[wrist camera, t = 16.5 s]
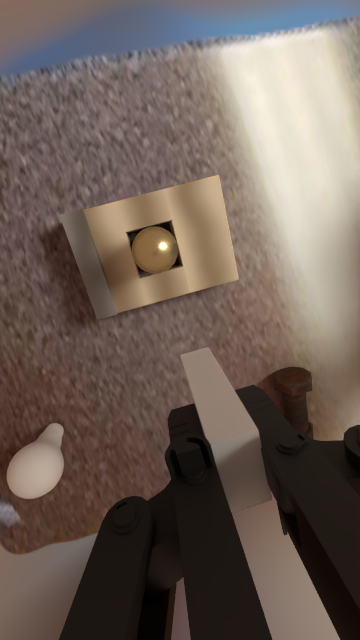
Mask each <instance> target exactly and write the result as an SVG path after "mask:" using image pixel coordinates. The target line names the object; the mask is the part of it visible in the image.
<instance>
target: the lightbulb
mask: <svg viewBox="0 0 360 640" xmlns="http://www.w3.org/2000/svg"><path fill="white" fill-rule="evenodd" d="M63 432H64V429H63V427H62V426H61V425H60V424H57V423H52V424H49V425H48V426H47V427H46V429H45V430H44V432H43V433H42V434H40V436H39V437H38V439H37V440H36V441H35V442H32V443H30V444H28V445H26V446H25V447H23V448H22V449H20V450H19V451H18V452H17V453H16V454H15V455H14V457H13V458H12V460H11V462H10V464H9V467H8V470H7V482H8V485H9V488H10V489H11V491H12V492H13V493H14V494H15V495H17V496H18V497H21V498H25V499H34V498H38V497H40V496H43V495H44V494H46V493H48V492H49V491H50V490H52V489H53V488H54V487H55V485H56V484H57V483H58V481H59V480H60V478H61V475H62V473H63V468H64V460H63V456H62V453H61V450H60V446H61V443H62V436H63Z"/></svg>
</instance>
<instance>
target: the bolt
mask: <svg viewBox="0 0 360 640" xmlns="http://www.w3.org/2000/svg"><path fill="white" fill-rule="evenodd" d="M274 387H275V389H276V390H278V391H281V392H282V394H283V397H284V406H285V415H286V420H287V421H288V422H289V423H290V425H291V426H292V427H293V428H294V429H295V430H298V431H301V432H303V433H305V434H306V435H307V436H309V437H310V438H311V439H312V440H313V425H312V424H311V423H310V422H308V414H307V404H306V392H309V391H312V379H311V372H309V371H308V370H306V369H304V368H300V367H288V368H284V369H280V370H278V371H277V372H275V376H274Z"/></svg>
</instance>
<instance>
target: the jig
mask: <svg viewBox="0 0 360 640" xmlns="http://www.w3.org/2000/svg"><path fill="white" fill-rule="evenodd" d="M60 218H61V221H62V223H63V226H64V229H65V232H66V235H67V237H68V240H69V243H70V246H71V248H72V251H73V254H74V257H75V259H76V262H77V265H78V268H79V270H80V273H81V276H82V279H83V282H84V284H85V287H86V290H87V293H88V295H89V298H90V301H91V304H92V306H93V309H94V312H95V315H96V317H97V320H100V319H103V318H107V317H110V316H114V315H117V314H118V313H120V312H123V311H127V310H130V309H134V308H137V307H141V306H145V305H148V304H152V303H155V302H159V301H163V300H166V299H170V298H173V297H177V296H181V295H184V294H188V293H191V292H195V291H198V290H202V289H206V288H209V287H213V286H216V285H220V284H224V283H227V282H231V281H234V280H238V279H239V278H238V272H237V267H236V262H235V257H234V252H233V246H232V241H231V236H230V231H229V226H228V220H227V215H226V210H225V205H224V200H223V194H222V189H221V184H220V179H219V175H216V176H212V177H209V178H205V179H201V180H197V181H193V182H189V183H185V184H182V185H178V186H174V187H170V188H166V189H162V190H159V191H155V192H151V193H147V194H143V195H139V196H135V197H132V198H128V199H124V200H120V201H116V202H112V203H109V204H105V205H101V206H97V207H93V208H89V209H85V210H82V209H81V210H77V211H73V212H69V213H65V214H61V215H60ZM168 222H169V225H170V229H171V233H172V235H173V237H174V238H175V240H176V243H177V247H178V255H177V256H178V260H179V264H177V265H174V266H172V267H171V268H170V269H169V270H167V271H165V272H163V273H159V274H152V273H144V274H141V275H140V273H139V269H138V266H137V264H136V263H135V261H134V258H133V255H132V246H131V242H130V239H129V236H128V233H130V232H134V231H138V230H142V229H145V228H148V227H153V226H157V225H161V224H164V223H168Z"/></svg>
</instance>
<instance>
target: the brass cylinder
mask: <svg viewBox="0 0 360 640" xmlns="http://www.w3.org/2000/svg"><path fill="white" fill-rule="evenodd" d="M132 255H133V258H134V261H135V263H136V264H137V265H138V266H139V267H140V268H141V269H142V270H144V271H145V272H148V273H152V274H159V273H163V272H165V271H167V270H169V269H170V268H171V267H172V266H173V264H174V263H175V261H176V259H177V255H178V247H177V243H176V240H175V238H174V237H173V235H172V234H171V233H170V232H168V231H167V230H165V229H163V228H161V227H148V228H145V229H143V230H142V231H140V232H139V233H138V234H137V236H136V237H135V239H134V241H133V244H132Z"/></svg>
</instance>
